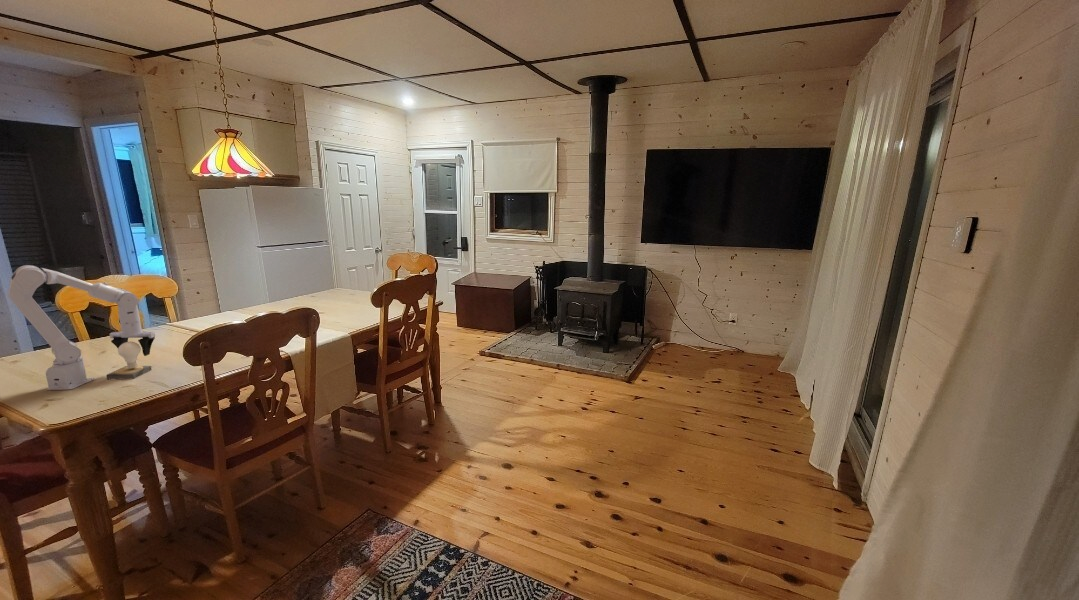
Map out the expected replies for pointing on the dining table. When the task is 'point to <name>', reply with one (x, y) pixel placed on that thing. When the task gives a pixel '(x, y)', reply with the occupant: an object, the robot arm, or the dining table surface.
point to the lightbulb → (129, 353)
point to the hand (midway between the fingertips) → (136, 355)
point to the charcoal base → (128, 372)
